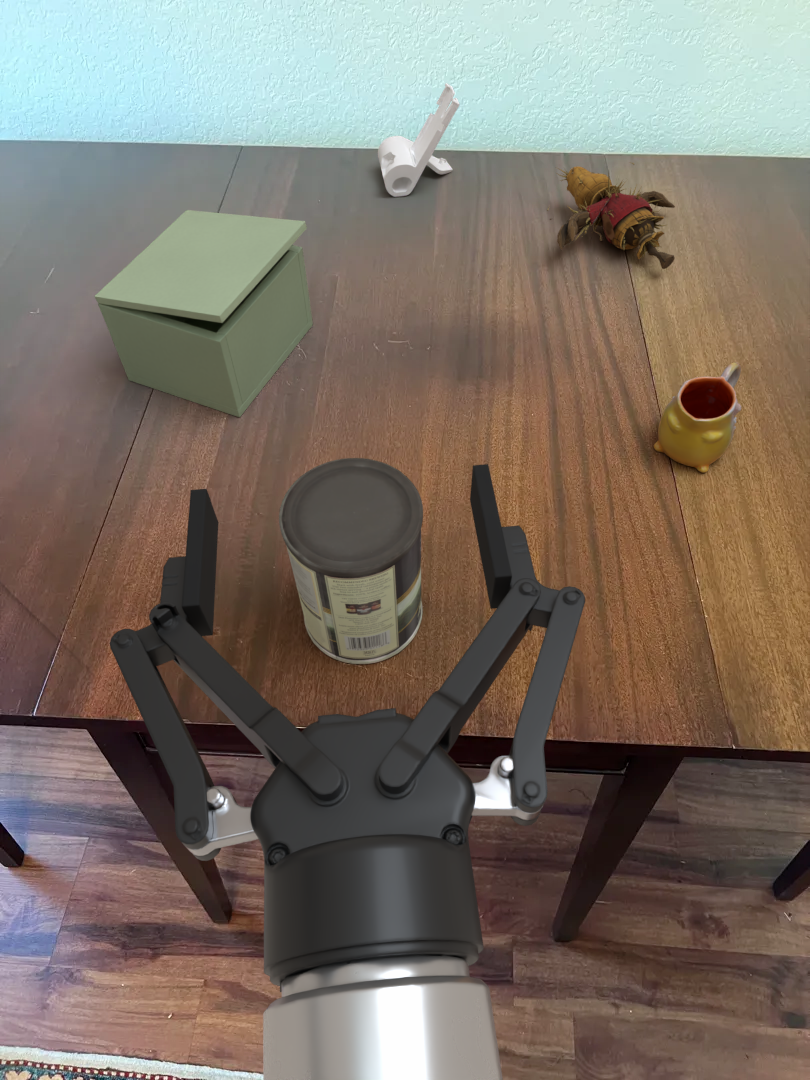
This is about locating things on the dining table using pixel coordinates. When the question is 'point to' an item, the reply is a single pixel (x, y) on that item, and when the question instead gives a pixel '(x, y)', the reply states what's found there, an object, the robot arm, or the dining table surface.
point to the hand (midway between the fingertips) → (342, 493)
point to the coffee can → (356, 557)
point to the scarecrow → (614, 214)
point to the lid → (202, 265)
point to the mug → (700, 420)
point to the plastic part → (417, 149)
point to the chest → (218, 341)
